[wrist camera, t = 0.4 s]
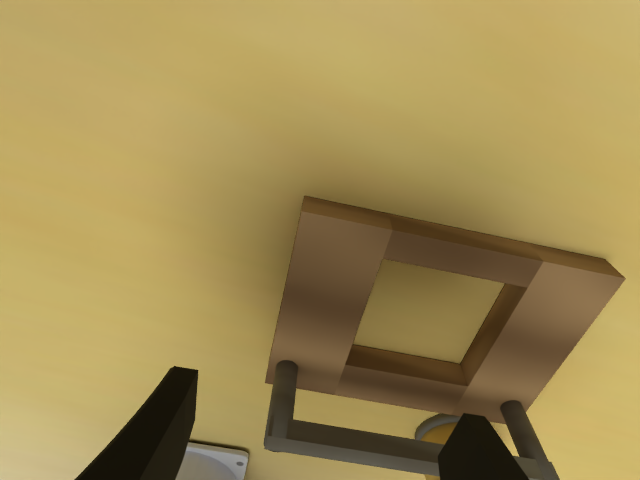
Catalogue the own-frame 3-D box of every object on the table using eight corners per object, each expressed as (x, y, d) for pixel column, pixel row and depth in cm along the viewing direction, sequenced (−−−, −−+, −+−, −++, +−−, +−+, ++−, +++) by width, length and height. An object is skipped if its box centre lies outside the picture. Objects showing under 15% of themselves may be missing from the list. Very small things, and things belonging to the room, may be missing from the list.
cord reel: (470, 460, 28) (494, 542, 24) (405, 449, 28) (418, 531, 24) (499, 418, 26) (533, 501, 22) (429, 406, 25) (448, 487, 21)
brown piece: (505, 402, 25) (549, 506, 20) (269, 361, 24) (250, 459, 19) (604, 259, 20) (703, 350, 14) (304, 195, 18) (292, 270, 13)
